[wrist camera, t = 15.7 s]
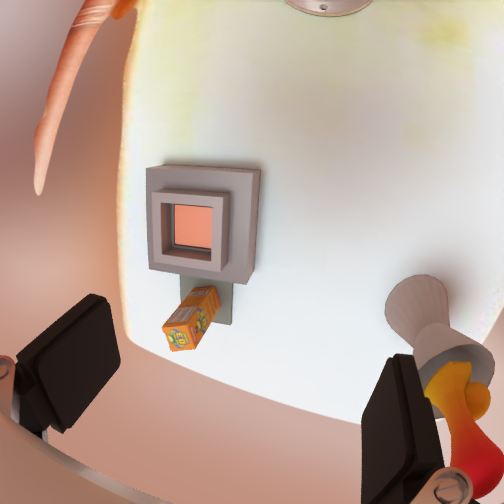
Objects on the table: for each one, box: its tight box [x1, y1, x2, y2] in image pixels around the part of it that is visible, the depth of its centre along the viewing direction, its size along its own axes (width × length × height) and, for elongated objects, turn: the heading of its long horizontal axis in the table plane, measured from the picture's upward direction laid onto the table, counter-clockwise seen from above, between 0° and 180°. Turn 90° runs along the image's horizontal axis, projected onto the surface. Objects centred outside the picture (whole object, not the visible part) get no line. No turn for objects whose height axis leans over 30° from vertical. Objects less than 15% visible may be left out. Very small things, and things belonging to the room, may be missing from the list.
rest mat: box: [180, 274, 233, 325], centre depth 41 cm, size 7×7×1 cm
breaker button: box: [175, 204, 212, 248], centre depth 35 cm, size 4×4×3 cm
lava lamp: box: [385, 275, 504, 504], centre depth 19 cm, size 9×9×35 cm
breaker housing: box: [146, 165, 260, 285], centre depth 35 cm, size 12×12×6 cm
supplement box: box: [162, 286, 221, 352], centre depth 36 cm, size 3×4×10 cm
